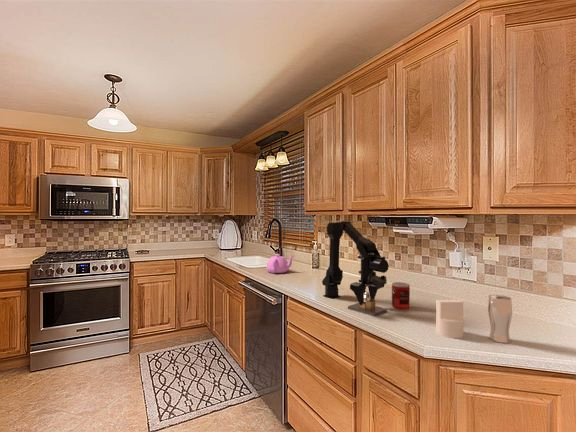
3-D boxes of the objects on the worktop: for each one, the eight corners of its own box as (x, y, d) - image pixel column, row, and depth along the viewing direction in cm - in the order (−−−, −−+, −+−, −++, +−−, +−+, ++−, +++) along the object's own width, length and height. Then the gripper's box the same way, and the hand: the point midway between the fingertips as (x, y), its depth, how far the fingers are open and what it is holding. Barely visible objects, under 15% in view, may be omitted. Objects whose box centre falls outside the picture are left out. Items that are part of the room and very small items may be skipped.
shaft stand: (347, 308, 141) (347, 291, 141) (360, 304, 148) (360, 288, 148) (374, 316, 131) (374, 297, 131) (386, 311, 138) (386, 293, 138)
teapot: (291, 275, 219) (291, 256, 219) (262, 274, 224) (262, 255, 224) (297, 270, 241) (297, 253, 241) (271, 269, 246) (271, 252, 246)
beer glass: (514, 345, 102) (515, 300, 102) (490, 342, 105) (490, 298, 105) (508, 337, 109) (508, 295, 109) (485, 334, 111) (485, 293, 111)
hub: (356, 307, 140) (356, 299, 140) (364, 304, 145) (364, 296, 145) (369, 310, 135) (369, 302, 135) (377, 307, 139) (377, 300, 139)
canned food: (395, 303, 150) (395, 281, 150) (411, 306, 145) (411, 283, 145) (389, 307, 144) (389, 284, 144) (406, 310, 139) (406, 286, 139)
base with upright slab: (454, 328, 117) (454, 297, 117) (469, 338, 108) (469, 304, 108) (431, 329, 117) (431, 297, 117) (444, 338, 108) (444, 304, 108)
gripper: (371, 274, 127) (370, 311, 127) (393, 269, 140) (393, 303, 140) (349, 270, 136) (349, 305, 136) (372, 266, 148) (372, 298, 148)
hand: (366, 303), depth 140 cm, fingers open, 9 cm apart
